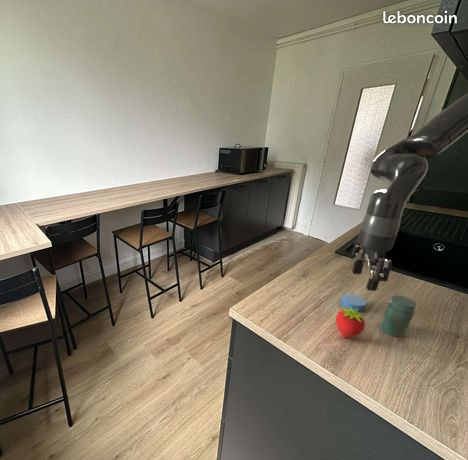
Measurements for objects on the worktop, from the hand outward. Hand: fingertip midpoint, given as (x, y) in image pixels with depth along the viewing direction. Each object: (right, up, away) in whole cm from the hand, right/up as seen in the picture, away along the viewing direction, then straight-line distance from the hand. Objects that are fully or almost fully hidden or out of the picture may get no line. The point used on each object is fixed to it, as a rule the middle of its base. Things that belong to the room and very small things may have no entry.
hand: (363, 281), depth 73 cm
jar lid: (0, -7, +4) cm, 8 cm away
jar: (+4, -12, -5) cm, 14 cm away
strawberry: (-10, -14, -7) cm, 18 cm away
